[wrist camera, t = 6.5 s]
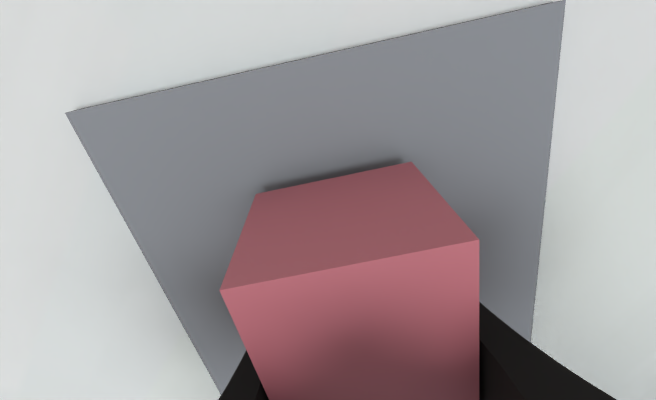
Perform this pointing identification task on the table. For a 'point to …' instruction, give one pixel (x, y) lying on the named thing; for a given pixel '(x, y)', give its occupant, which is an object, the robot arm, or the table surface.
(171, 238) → the desk mat
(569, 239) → the table surface
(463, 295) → the pink and white block
